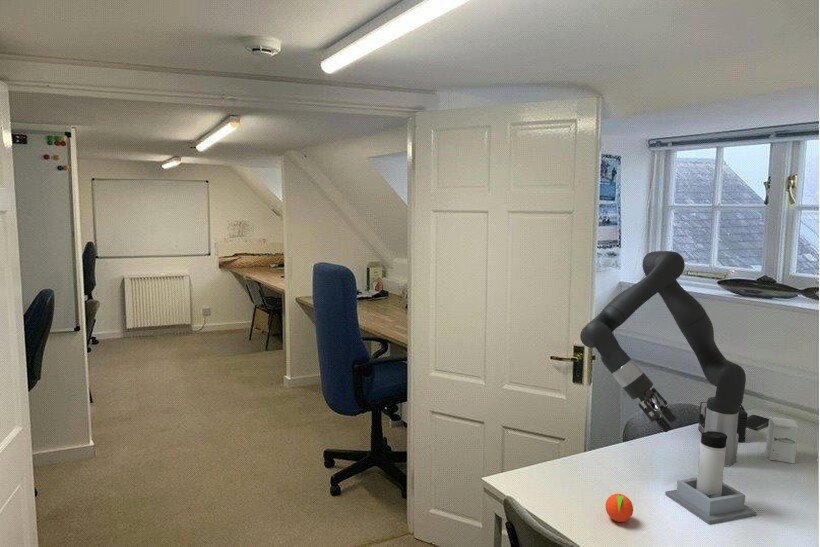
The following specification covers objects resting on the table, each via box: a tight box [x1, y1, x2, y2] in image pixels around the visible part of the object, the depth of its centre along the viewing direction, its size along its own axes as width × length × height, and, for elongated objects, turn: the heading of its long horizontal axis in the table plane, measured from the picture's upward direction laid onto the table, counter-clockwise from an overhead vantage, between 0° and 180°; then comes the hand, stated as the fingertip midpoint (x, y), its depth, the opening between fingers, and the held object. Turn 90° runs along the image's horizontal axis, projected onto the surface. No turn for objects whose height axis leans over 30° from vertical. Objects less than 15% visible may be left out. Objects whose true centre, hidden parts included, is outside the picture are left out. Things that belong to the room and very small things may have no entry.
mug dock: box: [664, 477, 757, 525], centre depth 165 cm, size 16×16×5 cm
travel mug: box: [696, 431, 727, 498], centre depth 164 cm, size 6×7×20 cm
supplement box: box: [765, 416, 800, 464], centre depth 196 cm, size 7×7×13 cm
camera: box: [697, 401, 749, 443], centre depth 214 cm, size 11×14×15 cm
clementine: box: [605, 493, 634, 523], centre depth 156 cm, size 8×7×7 cm
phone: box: [746, 414, 769, 431], centre depth 227 cm, size 8×1×15 cm
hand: (671, 425), depth 169 cm, fingers open, 8 cm apart
